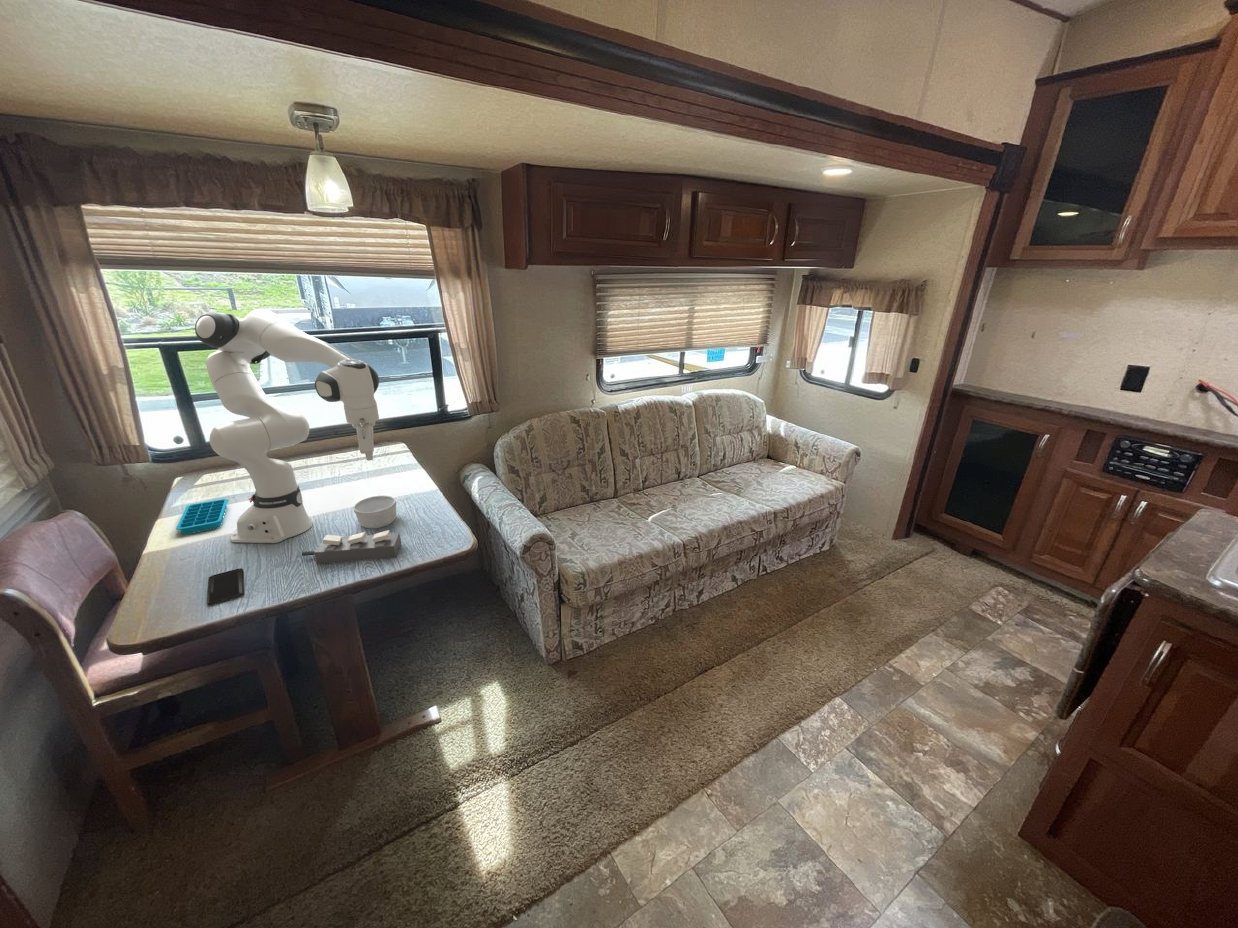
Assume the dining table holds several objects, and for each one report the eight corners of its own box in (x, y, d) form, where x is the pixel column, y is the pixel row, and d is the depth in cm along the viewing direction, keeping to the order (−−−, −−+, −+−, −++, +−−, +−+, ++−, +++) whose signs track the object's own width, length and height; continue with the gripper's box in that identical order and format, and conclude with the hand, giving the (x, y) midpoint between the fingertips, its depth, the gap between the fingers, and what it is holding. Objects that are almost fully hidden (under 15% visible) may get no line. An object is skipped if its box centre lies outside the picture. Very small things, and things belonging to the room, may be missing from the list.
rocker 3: (374, 542, 148) (372, 538, 147) (376, 537, 150) (374, 533, 150) (388, 538, 148) (386, 534, 147) (390, 533, 151) (389, 529, 150)
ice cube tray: (178, 538, 156) (175, 529, 155) (189, 512, 172) (187, 504, 171) (223, 529, 162) (220, 521, 161) (230, 505, 178) (228, 498, 177)
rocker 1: (322, 543, 144) (322, 539, 144) (326, 538, 147) (326, 534, 147) (338, 545, 146) (339, 541, 145) (342, 540, 148) (342, 536, 148)
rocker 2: (349, 544, 146) (347, 540, 146) (352, 539, 149) (350, 535, 148) (364, 540, 147) (362, 536, 146) (366, 535, 149) (364, 531, 149)
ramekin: (352, 532, 161) (349, 514, 158) (361, 514, 173) (357, 497, 170) (395, 528, 164) (392, 510, 162) (401, 510, 176) (398, 493, 174)
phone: (242, 567, 140) (243, 593, 129) (243, 570, 141) (244, 597, 130) (208, 576, 136) (205, 604, 125) (209, 579, 136) (207, 608, 125)
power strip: (298, 565, 143) (294, 552, 141) (308, 551, 150) (305, 538, 148) (395, 557, 148) (393, 544, 146) (401, 543, 155) (399, 531, 154)
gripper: (374, 423, 138) (381, 467, 144) (373, 405, 156) (380, 446, 161) (349, 425, 136) (358, 470, 141) (351, 407, 153) (359, 448, 158)
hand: (369, 457), depth 151 cm, fingers open, 3 cm apart
